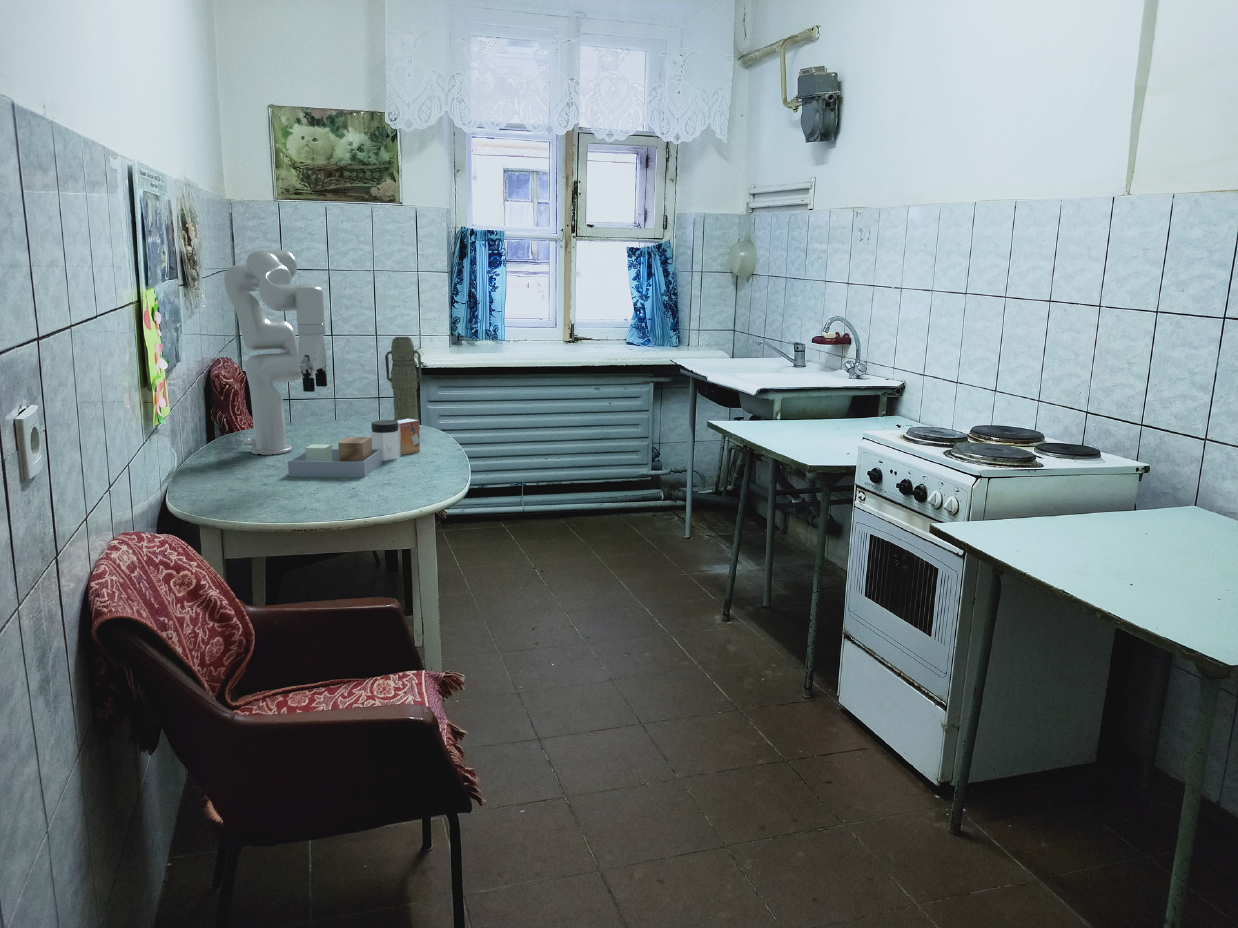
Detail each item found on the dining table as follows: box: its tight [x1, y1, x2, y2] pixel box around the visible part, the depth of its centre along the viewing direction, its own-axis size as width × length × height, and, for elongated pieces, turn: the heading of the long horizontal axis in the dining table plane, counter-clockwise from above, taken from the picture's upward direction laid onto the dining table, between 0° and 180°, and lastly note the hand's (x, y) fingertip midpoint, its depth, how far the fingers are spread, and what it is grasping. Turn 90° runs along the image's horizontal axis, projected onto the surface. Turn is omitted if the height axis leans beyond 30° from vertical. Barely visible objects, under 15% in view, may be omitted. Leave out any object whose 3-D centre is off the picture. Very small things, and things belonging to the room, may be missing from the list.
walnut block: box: [337, 436, 373, 461], centre depth 266 cm, size 7×9×9 cm
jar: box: [370, 419, 402, 462], centre depth 282 cm, size 9×8×12 cm
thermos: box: [384, 336, 422, 438], centre depth 315 cm, size 9×12×35 cm
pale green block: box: [304, 443, 333, 461], centre depth 267 cm, size 6×5×7 cm
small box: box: [398, 419, 421, 456], centre depth 293 cm, size 8×6×10 cm
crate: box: [287, 448, 383, 478], centre depth 267 cm, size 22×17×5 cm
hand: (315, 389), depth 264 cm, fingers open, 9 cm apart
